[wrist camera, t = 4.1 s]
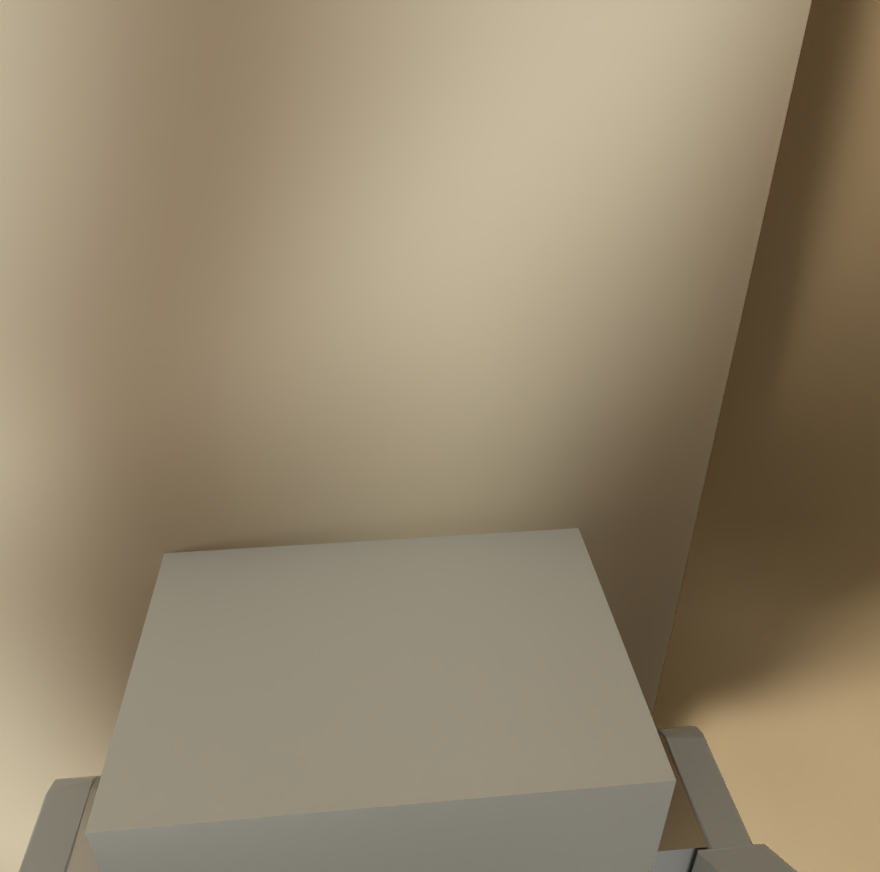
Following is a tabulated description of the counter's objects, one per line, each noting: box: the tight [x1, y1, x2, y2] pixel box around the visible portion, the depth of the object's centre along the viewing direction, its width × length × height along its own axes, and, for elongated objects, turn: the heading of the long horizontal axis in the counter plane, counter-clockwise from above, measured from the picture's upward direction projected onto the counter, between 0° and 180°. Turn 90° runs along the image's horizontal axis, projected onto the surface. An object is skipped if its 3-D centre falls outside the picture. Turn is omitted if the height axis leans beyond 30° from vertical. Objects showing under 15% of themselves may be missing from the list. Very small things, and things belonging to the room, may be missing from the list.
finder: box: [85, 528, 676, 872], centre depth 10 cm, size 6×5×4 cm
